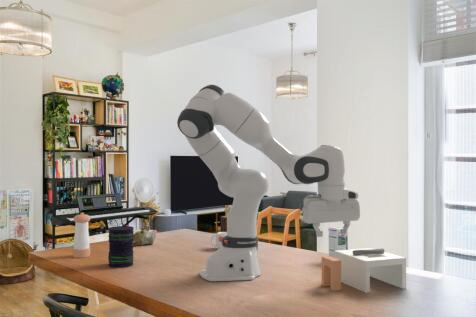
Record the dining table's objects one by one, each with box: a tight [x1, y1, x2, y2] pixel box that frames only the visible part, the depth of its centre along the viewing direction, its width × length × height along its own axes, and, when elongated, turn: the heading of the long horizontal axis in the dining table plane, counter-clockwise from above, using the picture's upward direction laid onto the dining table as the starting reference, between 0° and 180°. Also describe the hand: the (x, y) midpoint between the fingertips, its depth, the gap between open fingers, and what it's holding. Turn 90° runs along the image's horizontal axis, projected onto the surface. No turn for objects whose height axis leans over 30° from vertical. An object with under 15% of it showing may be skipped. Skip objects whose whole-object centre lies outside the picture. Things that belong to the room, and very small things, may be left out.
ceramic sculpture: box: [133, 228, 157, 246], centre depth 213 cm, size 11×9×15 cm
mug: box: [210, 231, 227, 250], centre depth 205 cm, size 12×8×8 cm
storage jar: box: [107, 225, 135, 269], centre depth 169 cm, size 10×10×15 cm
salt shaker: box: [72, 212, 91, 259], centre depth 185 cm, size 7×7×19 cm
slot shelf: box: [334, 247, 407, 294], centre depth 144 cm, size 16×18×12 cm
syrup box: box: [328, 226, 349, 258], centre depth 178 cm, size 6×6×14 cm
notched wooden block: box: [321, 255, 342, 292], centre depth 139 cm, size 3×7×10 cm, turn 20°
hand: (331, 235), depth 139 cm, fingers open, 8 cm apart
